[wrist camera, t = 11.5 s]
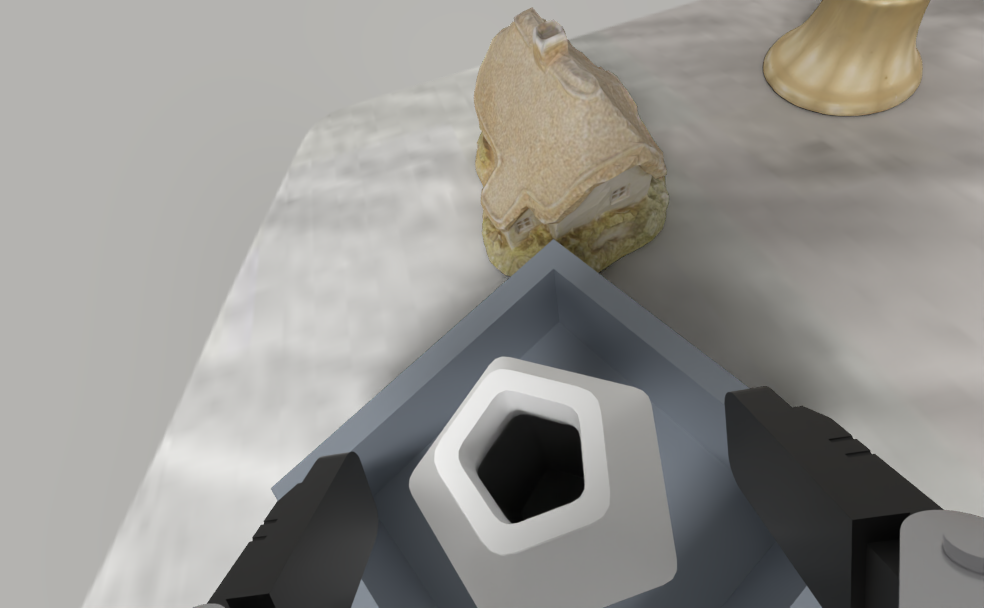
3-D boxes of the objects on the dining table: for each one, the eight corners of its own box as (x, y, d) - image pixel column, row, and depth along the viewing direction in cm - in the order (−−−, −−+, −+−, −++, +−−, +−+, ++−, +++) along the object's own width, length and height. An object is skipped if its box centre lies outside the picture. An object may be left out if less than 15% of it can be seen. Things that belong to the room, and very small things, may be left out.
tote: (560, 305, 24) (553, 238, 19) (821, 525, 18) (920, 518, 13) (347, 501, 21) (270, 488, 16) (567, 842, 15) (558, 1000, 10)
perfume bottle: (506, 457, 20) (360, 299, 7) (610, 454, 19) (664, 272, 6) (509, 580, 18) (304, 687, 5) (625, 581, 17) (752, 709, 4)
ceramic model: (709, 239, 25) (779, 70, 16) (515, 319, 24) (476, 194, 16) (592, 86, 31) (594, -90, 23) (439, 148, 31) (383, -5, 22)
